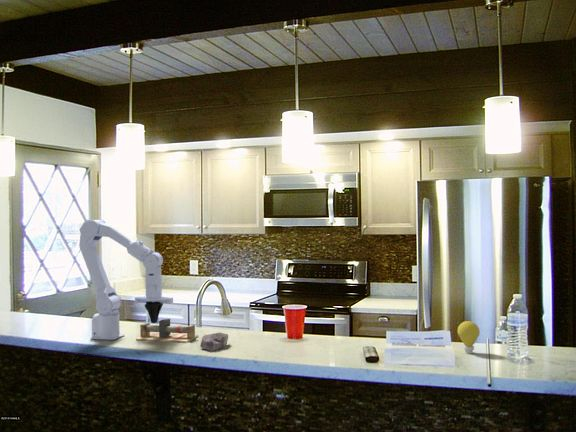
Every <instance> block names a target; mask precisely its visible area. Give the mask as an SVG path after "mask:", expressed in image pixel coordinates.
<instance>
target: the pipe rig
mask: <svg viewBox="0 0 576 432" xmlns="http://www.w3.org/2000/svg"><path fill="white" fill-rule="evenodd" d="M139 328H140V329H139V330H140V332H139V333H140V336H138V337H137V338H135V341H144V342H145V341H147V342H164V343H184V344H185V343H186V344H187V343H189V342H191V341H193V340H195V339H197V338H199V335H197V334H196V325H195V324H190V325H189V326H182V325H181V326H180V325H177V326H176V325H170V326H165V333H170V335H168V336H166V337H164V338H163V337H159V324H158V325H157V324H156V325H154V324H152V325H151V322H145V323H141V324H140V327H139Z"/></svg>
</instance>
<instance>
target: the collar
mask: <svg viewBox="0 0 576 432" xmlns="http://www.w3.org/2000/svg"><path fill="white" fill-rule="evenodd" d="M158 326H159V332H158V334H159V337H163V338H164V337H166V336H168V335H170V334H171V333H165V326H171V318H163V319H161V320H159V321H158Z"/></svg>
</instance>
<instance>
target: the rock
mask: <svg viewBox="0 0 576 432" xmlns="http://www.w3.org/2000/svg"><path fill="white" fill-rule="evenodd" d="M228 341H229V334H227V333H223V332H216V333H215V332H214V333H210V334H209V333H208V334H204V335H203V336H202V337H201V340H200V345H199V346H200V348H201V349H202V350H207V351H209V352H212V351H217V350H220V349H221V348H223V347H225V346H226V345H227V344H228Z"/></svg>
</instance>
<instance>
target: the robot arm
mask: <svg viewBox="0 0 576 432" xmlns="http://www.w3.org/2000/svg"><path fill="white" fill-rule="evenodd" d="M79 232H80V235H79V236H80V237H79V246H78V247H79V249H80V252H81V255H82V258H83V260H84V262H85V266H86V268H87V270H88V273H89V275H90V278H91V280H92V283H93V286H94V288H95V295H94V298H95V308H96V310H97V312H98V313H94V315H92V318H91V337H90V340H91V339H92V340H106V341H107V340H109V341H113V340H117V339H118V338H122V337H124V336H125V334H124V333H120V330H121V329H120V326H121V325H120V310H119V309H120V308H121V306H122V298H121V297H120V295H118V294H117V292H116V289H114V288H113V286H111V283H110V281H109V278H108V275H107V273H106V270H105V267H104V265H103V263H102V260H101V257H100V255H99V253H98V249H97V245H98V243H99V241H100V240H101V239H102V238H103V237H105V238H110V239H111V240H113V241H114V242H116V243H118V244H119V245H121V246H122V247H124V248H126V251H127V254H129V255H130V256H131V257H133V258H134V259H136V260H137V261H139V263H142V264H143V267H144V268H145V296H135V297H134V303H137V304H138V303H145V304H144V307H145V309H146V312H147V314H148V316H149V319H150V324H156V323H158V319H159V315H160V313H161V310H162V308H163V306H164V304H174V297H168V296H162V295H163V293H162V291H163V289H162V286H163V285H162V284H163V283H162V277H163V276H162V265H163V264H164V257H163V256H162V254H161V253H160V252H159V251H154V249H153V248H149V247H148V246H146V245H145V244H144V241H142V240H132V239H130V238H129V237H127V236H126V235H125V234H123V232H121V231H119V230H118V229H117V228H115V227H114V226H113V225H112V224H111V223H109V222H106V221H105V220H103V219H87V220H85V221H84V222H83V223H82V224H81V226H80V228H79Z"/></svg>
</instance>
